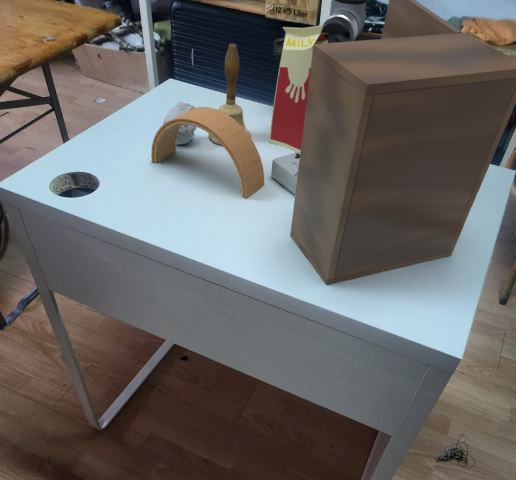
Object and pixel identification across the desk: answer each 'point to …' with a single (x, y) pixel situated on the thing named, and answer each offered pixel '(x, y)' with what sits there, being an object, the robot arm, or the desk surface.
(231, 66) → the hand bell
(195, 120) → the arch
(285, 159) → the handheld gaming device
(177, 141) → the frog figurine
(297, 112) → the milk carton
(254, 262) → the desk surface
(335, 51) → the cupboard
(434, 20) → the cupboard door
